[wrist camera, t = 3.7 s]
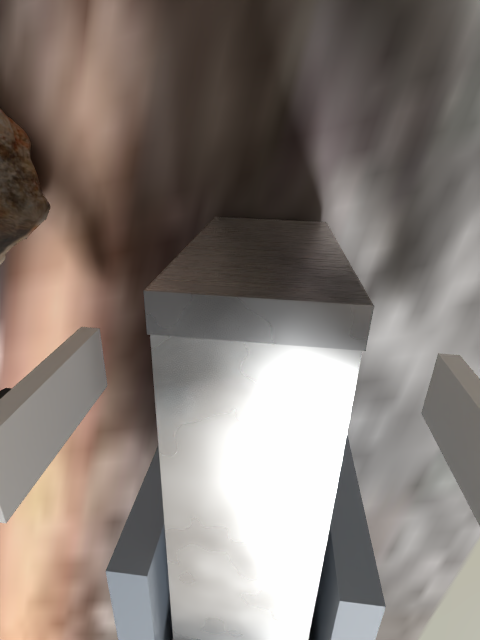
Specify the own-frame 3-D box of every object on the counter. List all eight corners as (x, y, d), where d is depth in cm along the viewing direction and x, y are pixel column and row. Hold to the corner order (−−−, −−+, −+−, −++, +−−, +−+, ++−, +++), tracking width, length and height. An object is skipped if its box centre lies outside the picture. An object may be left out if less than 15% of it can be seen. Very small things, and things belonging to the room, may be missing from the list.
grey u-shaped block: (192, 522, 25) (130, 776, 15) (187, 374, 20) (92, 601, 10) (312, 535, 24) (333, 811, 14) (336, 387, 19) (393, 642, 9)
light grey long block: (214, 515, 24) (177, 713, 15) (215, 216, 16) (143, 291, 8) (289, 523, 23) (292, 731, 15) (326, 222, 16) (374, 306, 7)
